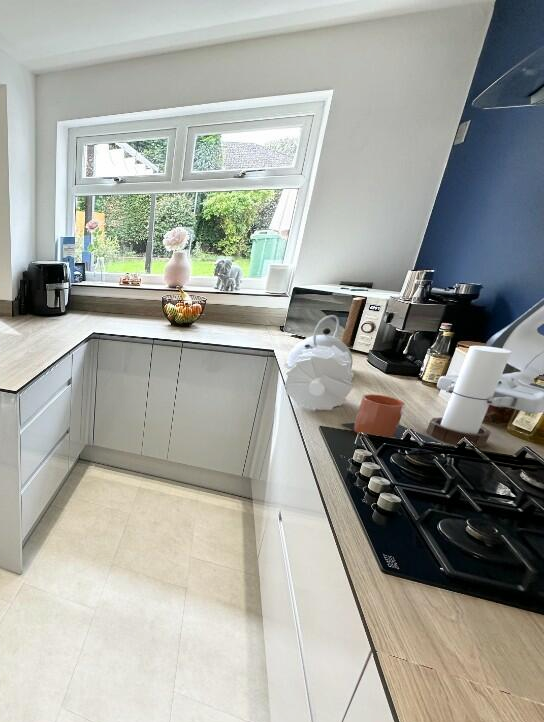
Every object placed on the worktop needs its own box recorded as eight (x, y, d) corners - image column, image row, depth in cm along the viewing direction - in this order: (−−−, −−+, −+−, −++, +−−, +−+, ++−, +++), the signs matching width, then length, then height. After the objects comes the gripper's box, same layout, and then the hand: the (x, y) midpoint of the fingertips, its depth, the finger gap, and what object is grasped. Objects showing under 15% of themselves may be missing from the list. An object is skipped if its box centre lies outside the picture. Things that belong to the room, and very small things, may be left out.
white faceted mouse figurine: (291, 420, 129) (300, 394, 147) (360, 411, 117) (360, 384, 135) (273, 368, 127) (285, 349, 146) (341, 353, 115) (344, 334, 134)
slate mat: (458, 451, 102) (458, 450, 101) (402, 455, 100) (402, 453, 100) (390, 422, 118) (391, 420, 118) (341, 424, 117) (342, 423, 117)
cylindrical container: (430, 433, 111) (462, 346, 103) (449, 430, 113) (482, 345, 105) (461, 445, 105) (498, 353, 97) (480, 441, 106) (518, 351, 98)
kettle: (330, 380, 155) (345, 322, 147) (272, 365, 173) (283, 314, 166) (361, 370, 166) (377, 317, 159) (304, 358, 185) (315, 309, 177)
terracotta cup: (402, 439, 108) (414, 405, 104) (373, 441, 107) (384, 407, 104) (372, 425, 116) (382, 393, 113) (345, 427, 115) (354, 395, 112)
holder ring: (497, 446, 104) (502, 434, 103) (460, 448, 103) (465, 436, 102) (450, 427, 115) (454, 416, 114) (416, 429, 114) (420, 418, 112)
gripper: (459, 368, 117) (427, 372, 113) (563, 391, 98) (529, 397, 94) (452, 388, 119) (419, 393, 115) (552, 415, 100) (518, 421, 96)
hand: (469, 395), depth 104 cm, fingers closed on cylindrical container, 7 cm apart
